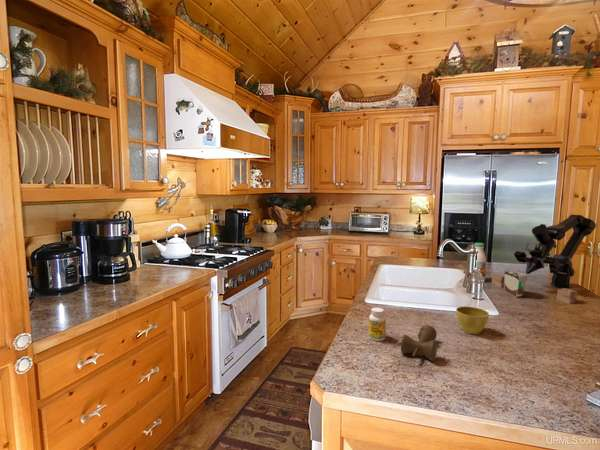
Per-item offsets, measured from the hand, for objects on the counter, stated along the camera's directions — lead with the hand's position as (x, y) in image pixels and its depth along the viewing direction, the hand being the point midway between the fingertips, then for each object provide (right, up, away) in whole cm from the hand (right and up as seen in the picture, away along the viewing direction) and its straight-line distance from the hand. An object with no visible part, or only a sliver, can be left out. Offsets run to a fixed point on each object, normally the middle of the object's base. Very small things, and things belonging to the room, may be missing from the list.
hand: (526, 273), depth 163 cm
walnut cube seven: (+11, -11, -10) cm, 18 cm away
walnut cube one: (-5, -8, +13) cm, 16 cm away
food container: (-6, -10, -2) cm, 11 cm away
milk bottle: (-12, -7, +22) cm, 26 cm away
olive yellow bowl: (-47, -14, -42) cm, 65 cm away
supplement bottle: (-81, -15, -48) cm, 95 cm away
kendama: (-69, -16, -57) cm, 91 cm away
